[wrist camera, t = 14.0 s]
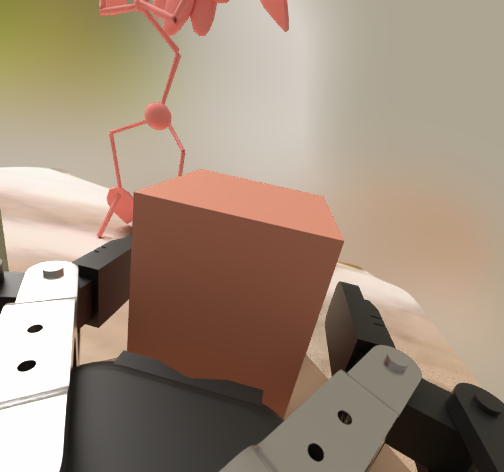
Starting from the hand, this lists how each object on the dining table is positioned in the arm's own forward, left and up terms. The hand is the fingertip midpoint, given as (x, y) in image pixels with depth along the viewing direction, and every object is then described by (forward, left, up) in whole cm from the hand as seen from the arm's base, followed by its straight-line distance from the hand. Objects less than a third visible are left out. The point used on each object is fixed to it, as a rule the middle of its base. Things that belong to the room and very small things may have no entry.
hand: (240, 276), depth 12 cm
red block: (+1, -1, -8) cm, 8 cm away
